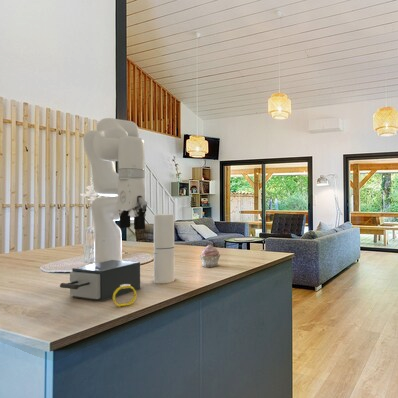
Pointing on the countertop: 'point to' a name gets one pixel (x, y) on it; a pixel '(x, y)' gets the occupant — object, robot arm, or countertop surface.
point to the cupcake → (210, 256)
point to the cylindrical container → (163, 248)
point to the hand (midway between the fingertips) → (132, 228)
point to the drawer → (83, 285)
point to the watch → (124, 288)
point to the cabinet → (113, 277)
